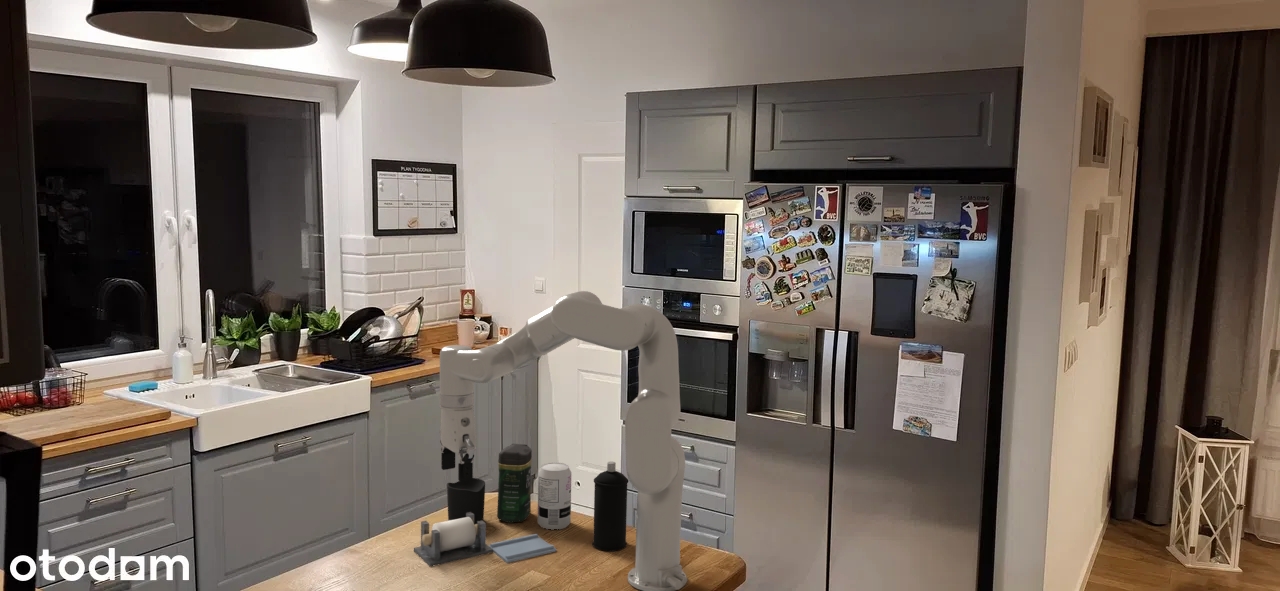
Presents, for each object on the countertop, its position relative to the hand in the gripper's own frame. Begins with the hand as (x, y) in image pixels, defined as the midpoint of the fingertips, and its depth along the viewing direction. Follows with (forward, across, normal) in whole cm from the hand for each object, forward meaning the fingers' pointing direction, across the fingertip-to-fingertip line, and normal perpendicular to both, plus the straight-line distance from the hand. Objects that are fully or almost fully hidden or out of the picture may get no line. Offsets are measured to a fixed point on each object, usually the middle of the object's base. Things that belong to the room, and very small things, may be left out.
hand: (456, 474), depth 196 cm
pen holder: (+18, +16, -9) cm, 27 cm away
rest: (+18, -6, -13) cm, 24 cm away
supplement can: (+19, +4, -27) cm, 33 cm away
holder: (+18, 0, +1) cm, 18 cm away
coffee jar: (+19, +14, -21) cm, 31 cm away
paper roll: (+14, 0, +1) cm, 14 cm away
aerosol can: (+19, -15, -32) cm, 40 cm away
